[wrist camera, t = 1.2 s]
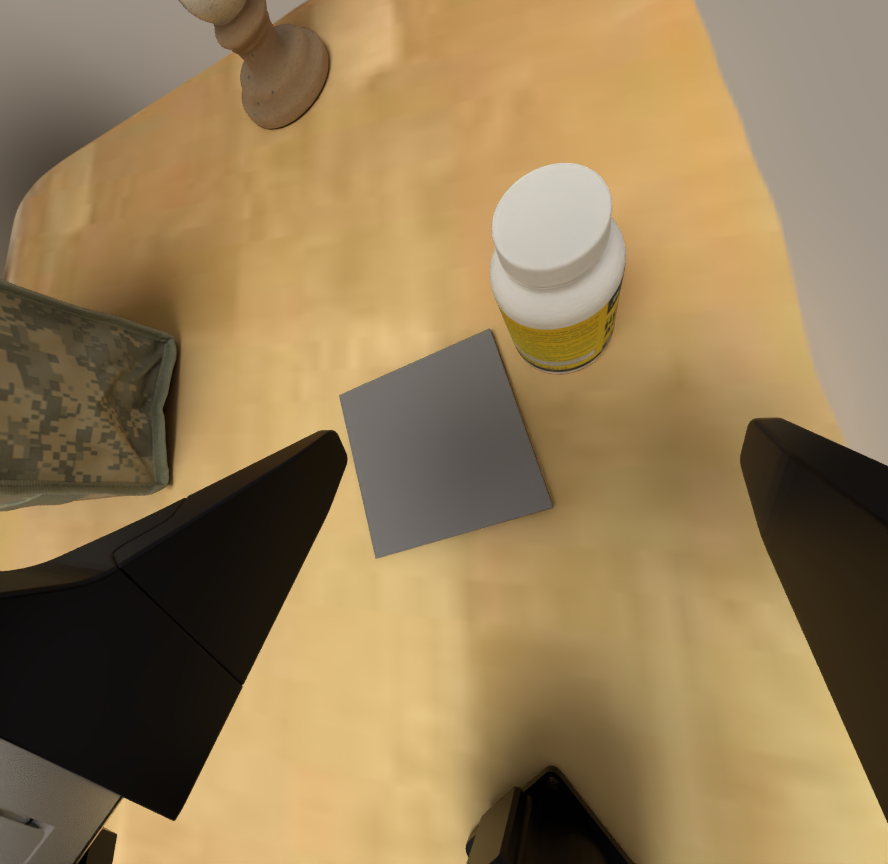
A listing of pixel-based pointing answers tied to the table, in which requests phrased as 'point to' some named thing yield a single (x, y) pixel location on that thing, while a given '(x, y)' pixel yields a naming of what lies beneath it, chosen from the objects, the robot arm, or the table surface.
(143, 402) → the bag
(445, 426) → the mat
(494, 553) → the table surface
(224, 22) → the candle holder
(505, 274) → the supplement bottle
